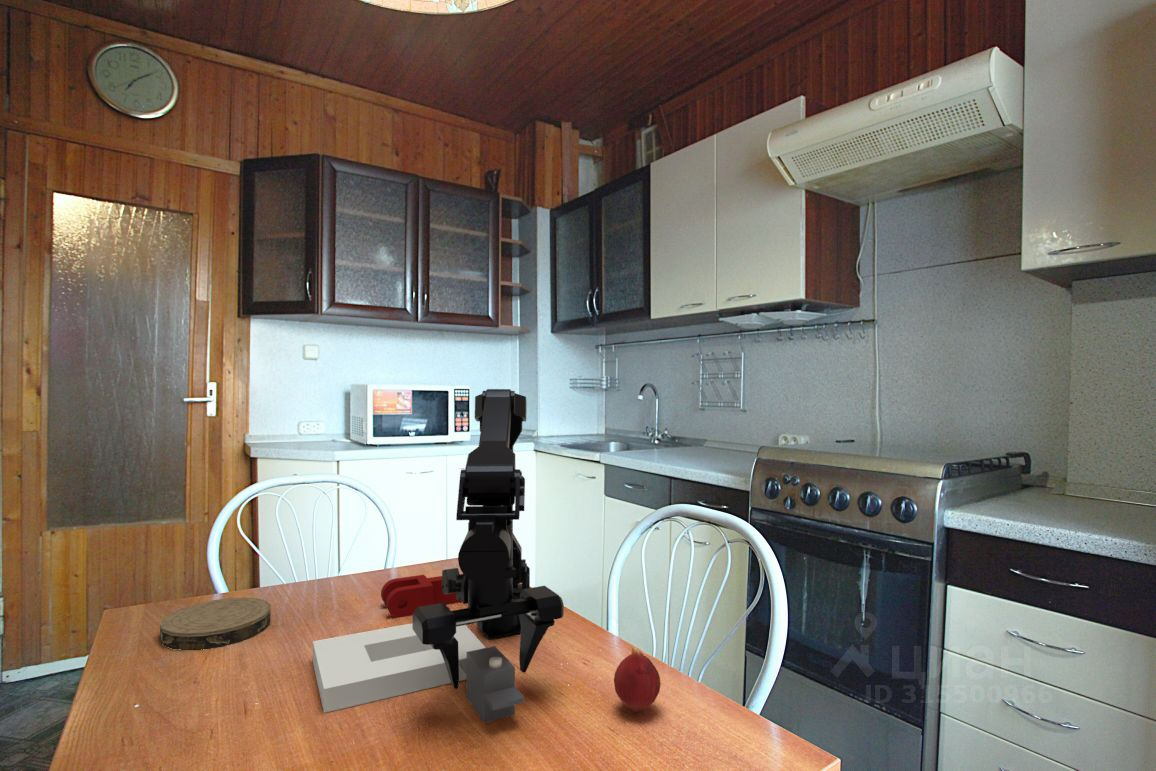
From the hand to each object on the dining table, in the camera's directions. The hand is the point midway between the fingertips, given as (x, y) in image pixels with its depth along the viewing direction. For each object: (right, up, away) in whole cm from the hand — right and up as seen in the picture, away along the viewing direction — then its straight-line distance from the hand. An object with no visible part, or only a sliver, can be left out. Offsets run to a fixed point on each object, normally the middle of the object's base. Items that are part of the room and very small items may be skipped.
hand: (489, 679), depth 78 cm
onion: (+19, -4, -1) cm, 19 cm away
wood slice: (-49, -4, +23) cm, 55 cm away
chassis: (-15, -3, +10) cm, 18 cm away
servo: (0, -3, 0) cm, 3 cm away
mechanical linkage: (-17, -4, +35) cm, 39 cm away
